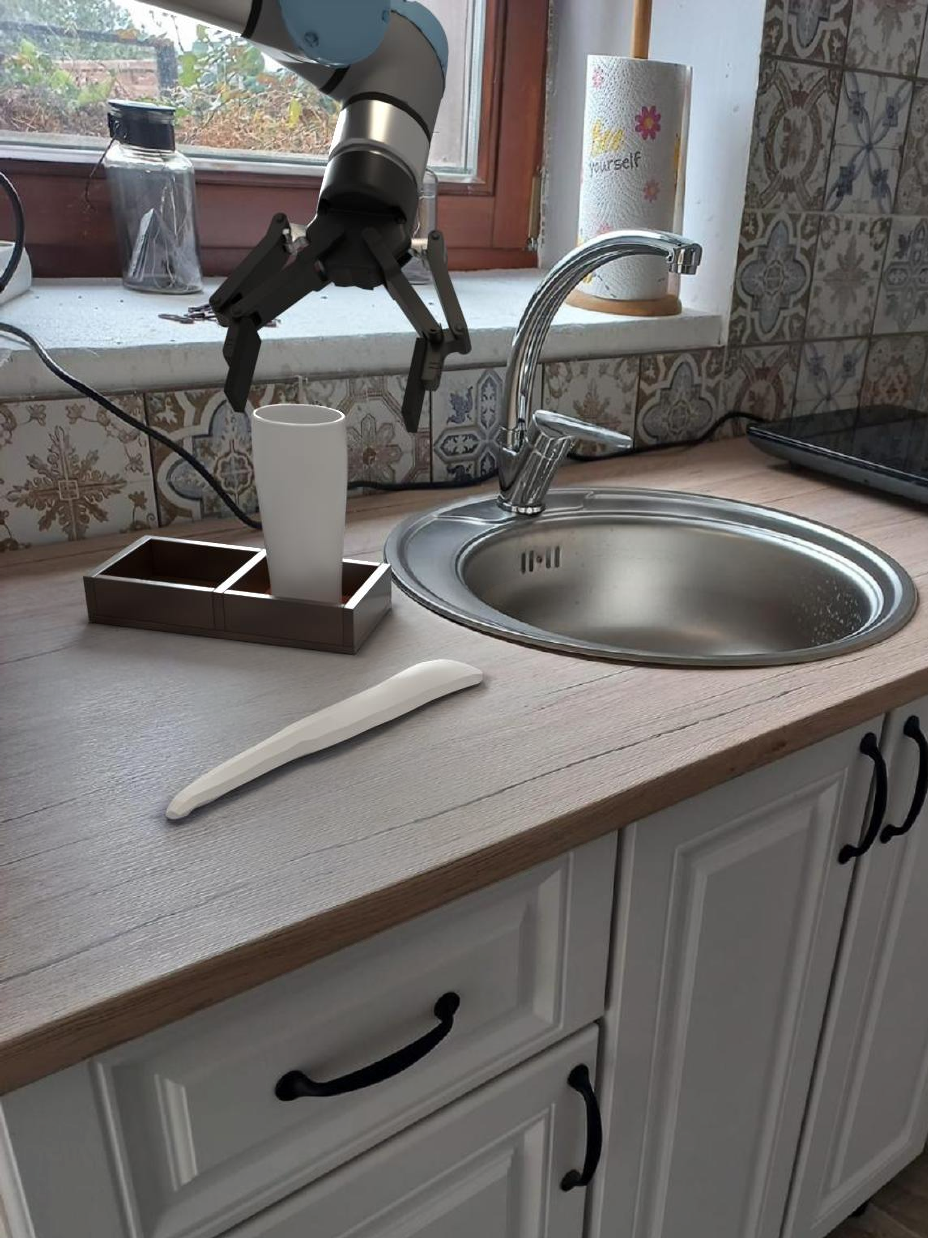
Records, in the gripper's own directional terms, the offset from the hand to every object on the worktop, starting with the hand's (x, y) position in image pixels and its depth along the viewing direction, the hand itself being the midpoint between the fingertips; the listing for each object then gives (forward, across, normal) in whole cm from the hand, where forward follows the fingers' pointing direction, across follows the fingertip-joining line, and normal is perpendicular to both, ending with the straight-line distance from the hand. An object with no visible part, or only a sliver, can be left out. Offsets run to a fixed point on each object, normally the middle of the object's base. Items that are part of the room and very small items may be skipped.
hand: (320, 412), depth 94 cm
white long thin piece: (+28, -8, +6) cm, 29 cm away
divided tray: (+14, +5, -7) cm, 17 cm away
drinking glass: (+14, 0, -6) cm, 15 cm away
